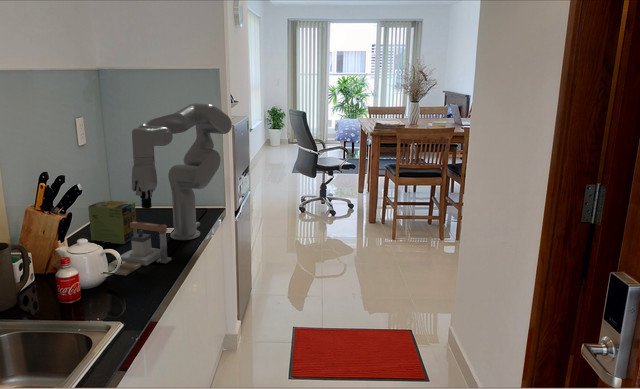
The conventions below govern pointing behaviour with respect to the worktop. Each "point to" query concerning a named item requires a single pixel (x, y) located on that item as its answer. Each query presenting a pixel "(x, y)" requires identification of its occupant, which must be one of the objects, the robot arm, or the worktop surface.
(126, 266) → the birch board
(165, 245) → the clip post
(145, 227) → the clip
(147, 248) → the plug
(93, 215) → the protein box
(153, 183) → the robot arm
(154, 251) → the socket block
